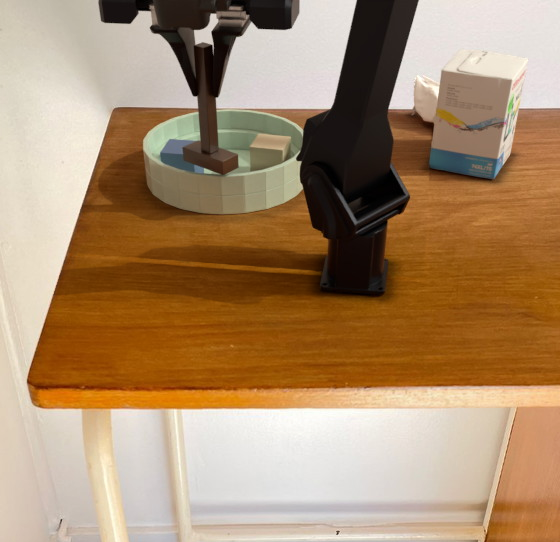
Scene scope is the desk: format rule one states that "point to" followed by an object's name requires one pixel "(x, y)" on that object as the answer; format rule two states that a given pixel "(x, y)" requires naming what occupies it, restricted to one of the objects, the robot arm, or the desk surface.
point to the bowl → (236, 184)
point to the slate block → (178, 156)
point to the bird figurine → (426, 98)
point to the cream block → (269, 151)
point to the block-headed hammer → (208, 119)
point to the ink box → (477, 112)
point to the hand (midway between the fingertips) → (206, 95)
